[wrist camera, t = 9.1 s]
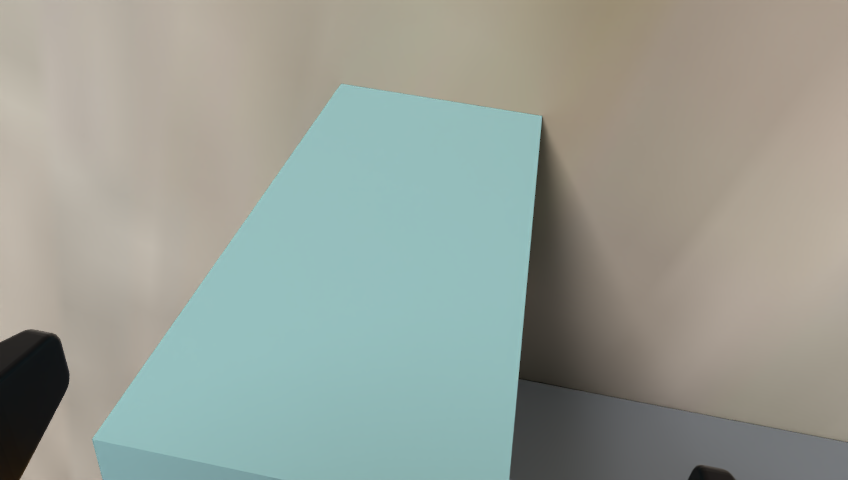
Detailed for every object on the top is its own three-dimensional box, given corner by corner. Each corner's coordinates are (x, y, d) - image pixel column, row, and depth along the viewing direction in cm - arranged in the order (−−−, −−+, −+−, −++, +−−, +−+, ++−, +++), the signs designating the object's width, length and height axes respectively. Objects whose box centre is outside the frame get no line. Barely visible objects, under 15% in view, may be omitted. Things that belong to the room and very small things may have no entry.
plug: (542, 116, 14) (504, 526, 7) (508, 277, 16) (453, 715, 9) (341, 83, 14) (91, 438, 7) (336, 246, 17) (145, 643, 9)
